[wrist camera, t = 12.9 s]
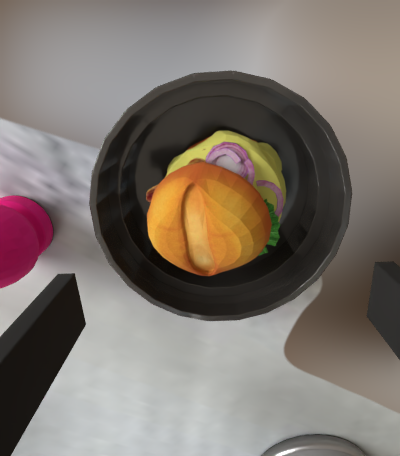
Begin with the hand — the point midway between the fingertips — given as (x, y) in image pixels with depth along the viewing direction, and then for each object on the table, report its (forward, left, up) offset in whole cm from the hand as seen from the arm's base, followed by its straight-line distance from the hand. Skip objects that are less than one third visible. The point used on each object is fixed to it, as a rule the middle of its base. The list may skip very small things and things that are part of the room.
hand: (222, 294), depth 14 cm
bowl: (0, 0, -16) cm, 16 cm away
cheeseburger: (0, 0, -16) cm, 16 cm away
